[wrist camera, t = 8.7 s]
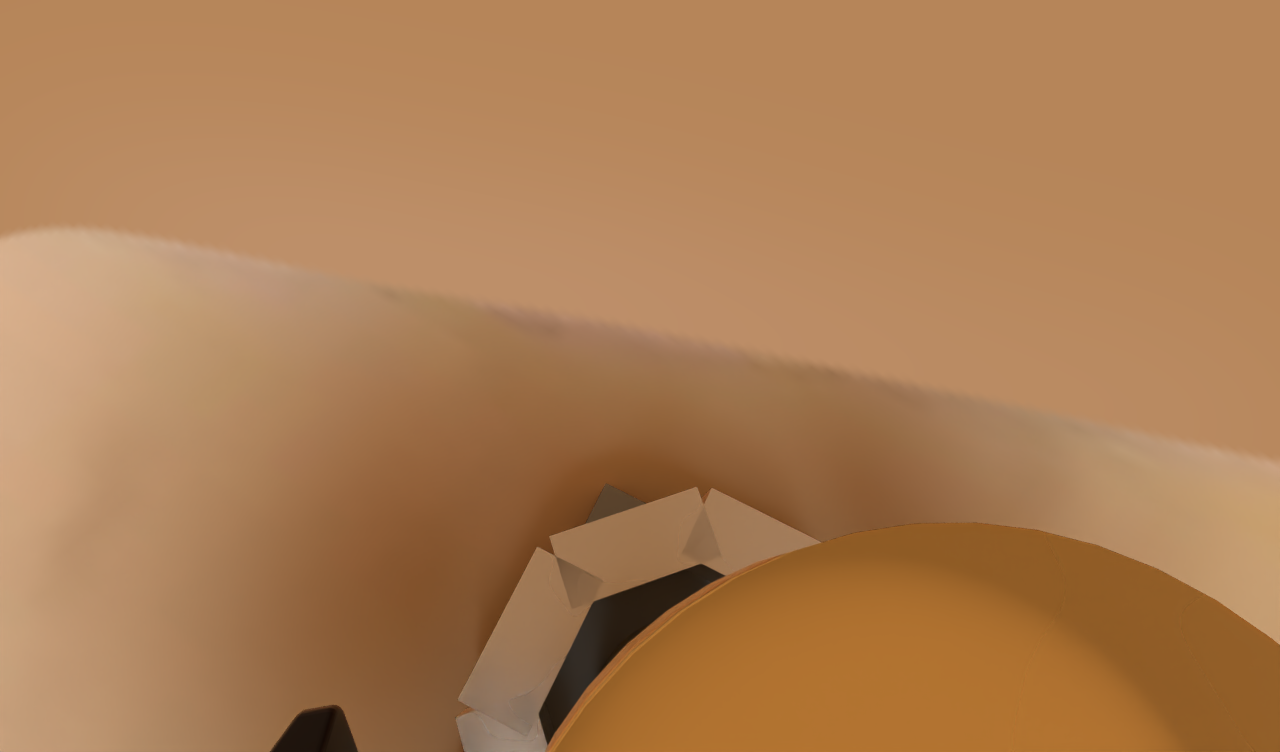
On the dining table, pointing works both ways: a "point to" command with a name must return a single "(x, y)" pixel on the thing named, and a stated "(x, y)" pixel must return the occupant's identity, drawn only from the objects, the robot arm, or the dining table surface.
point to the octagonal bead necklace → (591, 571)
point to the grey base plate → (613, 618)
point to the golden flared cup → (938, 655)
